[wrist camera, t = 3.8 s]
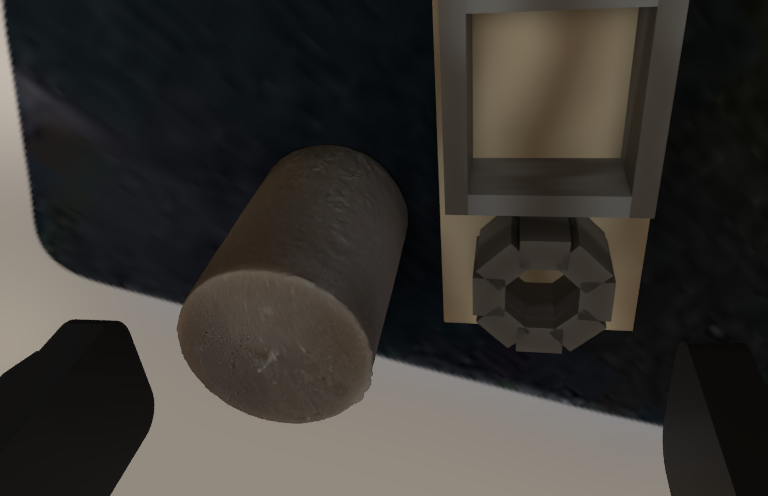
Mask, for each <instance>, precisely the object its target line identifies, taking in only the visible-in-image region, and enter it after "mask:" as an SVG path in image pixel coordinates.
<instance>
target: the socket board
mask: <svg viewBox="0 0 768 496" xmlns="http://www.w3.org/2000/svg"><path fill="white" fill-rule="evenodd" d="M688 5H689V0H432V6H433V33H434V60H435V87H436V114H437V141H438V168H439V195H440V222H441V249H442V276H443V303H444V322H455V323H476V324H479V325H480V326H482V327H483V328H484V329H485V330H487V331H488V332H489V333H490V334H491V335H493V336H494V337H495V338H496V339H497V340H499V341H500V342H501V343H502V344H504V345H505V346H506V347H507V348H509V347H510V346H512V345H513V344H515V343H516V351H524V352H542V353H561V354H562V345H563V346H564V347H566V348H567V349H568V350H569V351H572V350H573V349H575V348H576V347H578V346H580V345H581V344H583V343H584V342H586V341H587V340H589V339H590V338H592V337H594V336H595V335H597V334H598V333H600V332H601V331H603V330H622V331H633V325H634V319H635V312H636V306H637V299H638V293H639V287H640V280H641V274H642V267H643V261H644V254H645V248H646V241H647V235H648V229H649V222H650V218H651V219H654V218H655V212H656V206H657V199H658V193H659V187H660V180H661V174H662V168H663V162H664V155H665V149H666V143H667V136H668V130H669V124H670V118H671V111H672V105H673V99H674V92H675V86H676V80H677V74H678V67H679V61H680V55H681V49H682V42H683V36H684V30H685V23H686V17H687V11H688Z"/></svg>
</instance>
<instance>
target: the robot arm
mask: <svg viewBox="0 0 768 496" xmlns="http://www.w3.org/2000/svg"><path fill="white" fill-rule="evenodd" d="M153 415H154V397H153V393H152V390H151V387H150V384H149V382H148V379H147V377H146V374H145V371H144V369H143V366H142V363H141V361H140V358H139V355H138V353H137V350H136V347H135V345H134V343H133V340H132V337H131V334H130V332H129V330H128V328H127V327H126V325H124V324H123V323H122V322H120V321H106V320H77V319H75V320H70V321H68V322H66V323H65V324H63V325H62V326H61V327H60V328H59V329H58V330H57V332H56V333H55V334H54V335H53V336H52V337H51V338H50V339H49V340H48V342H47V343H46V344H45V345H44V346H43V347H42V348H41V349H40V350H39V351H36V352H35V353H33V354H32V355H30V356H29V357H27V358H26V359H24V360H23V361H21V362H20V363H18V364H17V365H15V366H14V367H12V368H11V369H9V370H8V371H7V372H5V373H4V374H3V375H2V376H1V377H0V496H110V495H111V493H112V491H113V490H114V488H115V486H116V485H117V483H118V481H119V480H120V478H121V476H122V475H123V473H124V472H125V470H126V468H127V467H128V465H129V463H130V462H131V460H132V458H133V457H134V455H135V453H136V452H137V450H138V449H139V447H140V445H141V443H142V442H143V440H144V439H145V437H146V435H147V433H148V432H149V429H150V427H151V423H152V420H153ZM663 455H664V464H665V470H666V474H667V479H668V483H669V488H670V492H671V496H768V385H765V384H764V382H763V379H762V377H761V375H760V373H759V370H758V368H757V366H756V363H755V361H754V359H753V357H752V354H751V352H750V350H749V348H748V347H747V346H746V345H745V344H743V343H722V342H692V341H682V342H680V343H679V345H678V348H677V351H676V356H675V362H674V367H673V373H672V379H671V384H670V390H669V396H668V401H667V407H666V413H665V419H664V425H663Z"/></svg>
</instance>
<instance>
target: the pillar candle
mask: <svg viewBox="0 0 768 496" xmlns="http://www.w3.org/2000/svg"><path fill="white" fill-rule="evenodd" d="M407 226H408V210H407V206H406V202H405V200H404V198H403V196H402V193H401V191H400V189H399V187H398V186H397V184H396V183H395V181H394V180H393V179H392V177H391V176H390V174H389V173H388V172H387V171H386V170H385V169H384V168H383V167H382V166H381V165H380V164H379V163H378V162H376V161H375V160H374V159H372V158H370V157H369V156H367V155H366V154H364V153H362V152H359V151H356V150H353V149H351V148H348V147H344V146H338V145H317V146H311V147H306V148H303V149H299V150H296V151H294V152H292V153H291V154H289V155H287V156H285V157H283V158H282V159H281V160H280V161H279V162H278V163H277V164H276V165H275V166H274V167H273V168H272V169H271V170H270V172H269V174H268V175H267V177H266V178H265V180H264V181H263V183H262V184H261V185H260V187H259V188H258V190H257V191H256V193H255V194H254V196H253V197H252V199H251V201H250V202H249V204H248V205H247V206H246V208H245V209H244V211H243V212H242V214H241V215H240V217H239V218H238V220H237V221H236V223H235V224H234V226H233V228H232V229H231V231H230V232H229V234H228V236H227V237H226V239H225V240H224V242H223V243H222V245H221V246H220V247H219V249H218V250H217V252H216V253H215V255H214V256H213V258H212V260H211V261H210V262H209V264H208V266H207V267H206V269H205V271H204V272H203V274H202V275H201V277H200V278H199V280H198V281H197V283H196V284H195V286H194V288H193V289H192V290H191V292H190V294H189V295H188V297H187V299H186V301H185V303H184V305H183V307H182V309H181V312H180V315H179V320H178V326H177V332H178V339H179V342H180V346H181V350H182V354H183V355H184V358H185V360H186V361H187V363H188V365H189V367H190V368H191V370H192V372H194V374H195V375H196V376H197V377H198V379H200V381H201V382H202V383H203V384H204V385H205V387H206V388H207V389H208V390H209V391H210V392H212V393H214V394H215V395H217V396H218V397H219V398H220V399H222V400H223V401H224V402H226V403H227V404H228V405H231V406H232V407H234V408H236V409H238V410H240V411H243V412H245V413H247V414H249V415H252V416H255V417H258V418H261V419H266V420H270V421H276V422H283V423H307V422H313V421H320V420H324V419H326V418H329V417H333V416H335V415H337V414H340V413H341V412H343V411H344V410H346V409H348V408H349V407H350V406H351V405H353V404H354V403H357V402H359V401H361V400H362V399H363V396H364V392H366V391H367V390H368V389H369V387H370V385H371V378H370V377H371V376H372V375H373V373H372V367H373V364H374V360H375V355H376V351H377V347H378V343H379V339H380V335H381V331H382V328H383V324H384V320H385V316H386V312H387V308H388V304H389V301H390V297H391V293H392V289H393V285H394V281H395V277H396V274H397V269H398V265H399V261H400V257H401V252H402V248H403V244H404V241H405V236H406V231H407Z"/></svg>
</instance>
